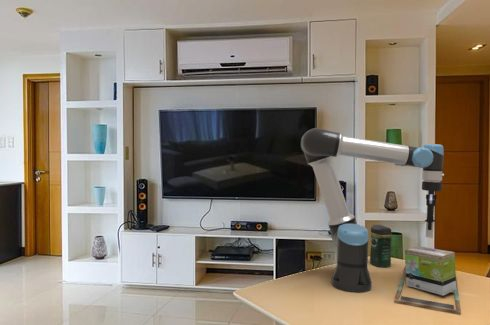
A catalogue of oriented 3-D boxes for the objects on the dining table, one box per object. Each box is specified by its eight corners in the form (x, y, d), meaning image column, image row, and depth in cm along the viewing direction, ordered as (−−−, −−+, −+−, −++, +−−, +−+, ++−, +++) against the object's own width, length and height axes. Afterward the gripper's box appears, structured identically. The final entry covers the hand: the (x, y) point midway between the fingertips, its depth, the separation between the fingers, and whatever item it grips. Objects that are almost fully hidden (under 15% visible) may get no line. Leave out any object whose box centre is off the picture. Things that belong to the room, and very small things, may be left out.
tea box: (405, 286, 151) (403, 249, 151) (419, 281, 157) (417, 245, 157) (443, 296, 138) (441, 255, 139) (457, 290, 144) (455, 250, 144)
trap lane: (393, 302, 134) (394, 299, 134) (404, 267, 177) (405, 264, 177) (460, 314, 125) (461, 311, 125) (455, 274, 167) (455, 271, 167)
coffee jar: (393, 267, 177) (394, 227, 176) (378, 268, 175) (379, 227, 174) (381, 261, 186) (382, 223, 186) (367, 262, 184) (368, 223, 184)
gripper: (442, 182, 152) (439, 241, 153) (442, 180, 164) (439, 235, 165) (421, 181, 156) (418, 238, 157) (422, 179, 167) (420, 233, 168)
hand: (429, 237), depth 161 cm, fingers closed
